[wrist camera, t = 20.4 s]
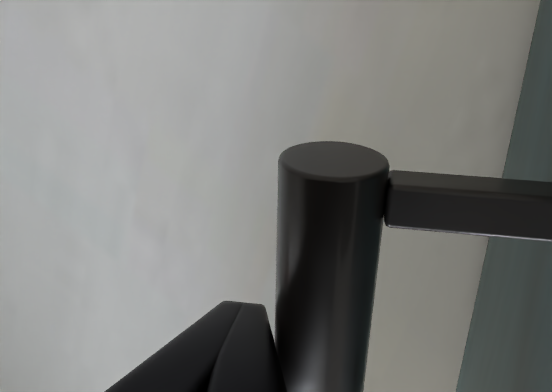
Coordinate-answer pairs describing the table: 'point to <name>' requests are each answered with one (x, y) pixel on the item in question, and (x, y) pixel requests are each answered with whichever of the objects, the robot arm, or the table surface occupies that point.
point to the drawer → (429, 217)
